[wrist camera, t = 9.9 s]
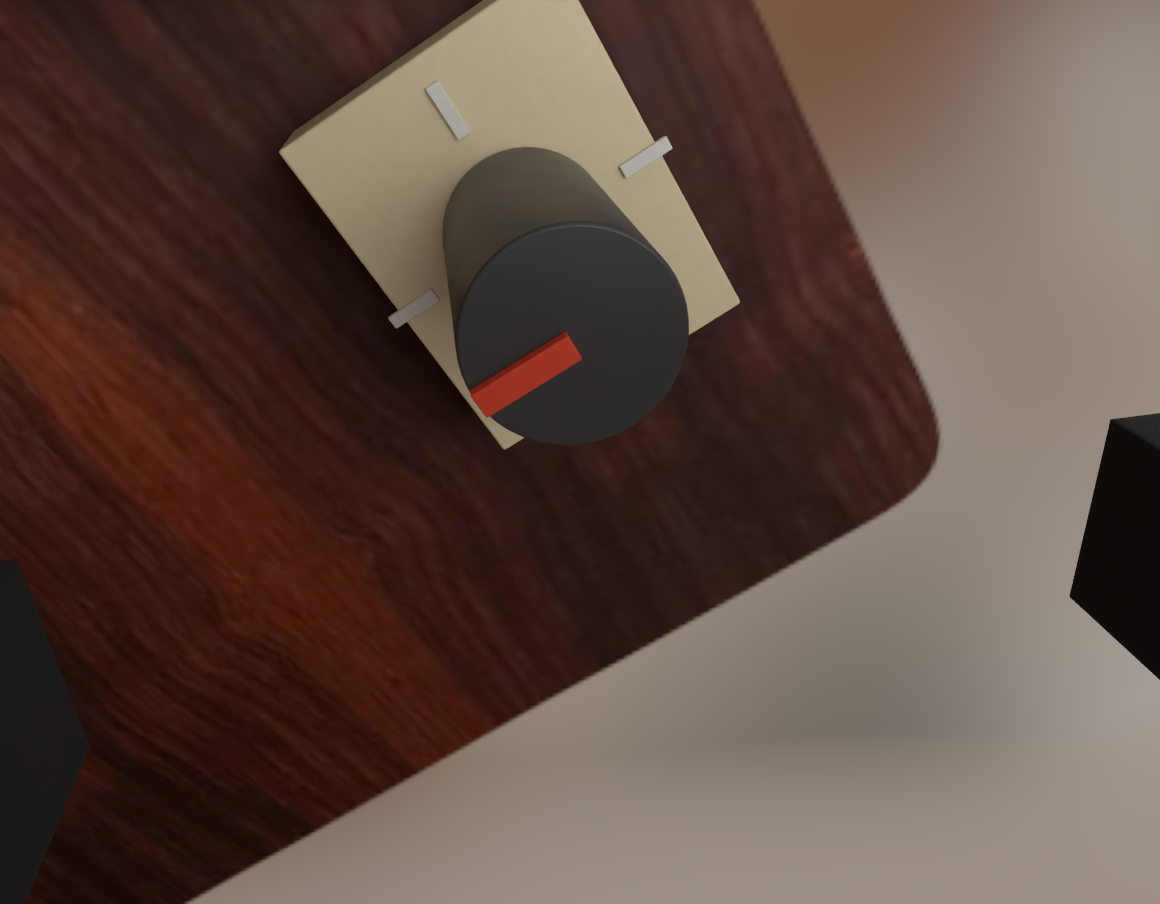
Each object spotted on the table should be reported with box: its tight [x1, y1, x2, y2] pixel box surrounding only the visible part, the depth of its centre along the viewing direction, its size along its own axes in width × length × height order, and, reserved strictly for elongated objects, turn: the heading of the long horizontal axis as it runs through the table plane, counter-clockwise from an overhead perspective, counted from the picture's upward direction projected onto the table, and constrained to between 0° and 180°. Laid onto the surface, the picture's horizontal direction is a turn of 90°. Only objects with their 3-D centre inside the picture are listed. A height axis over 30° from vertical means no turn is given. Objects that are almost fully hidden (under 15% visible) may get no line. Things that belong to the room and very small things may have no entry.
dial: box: [443, 147, 689, 445], centre depth 21 cm, size 4×4×8 cm
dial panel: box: [279, 0, 740, 449], centre depth 25 cm, size 10×9×3 cm
